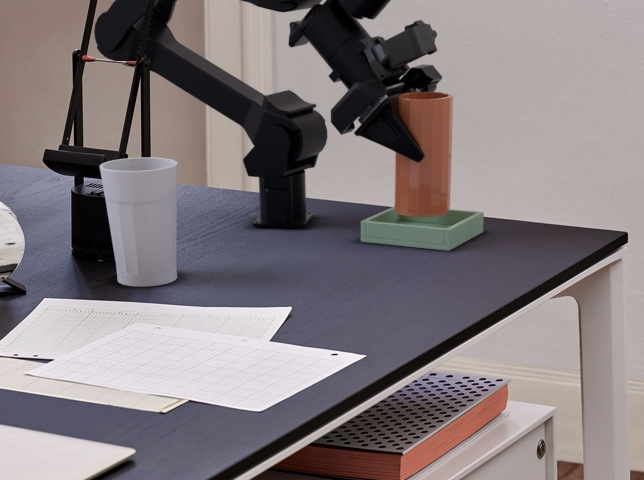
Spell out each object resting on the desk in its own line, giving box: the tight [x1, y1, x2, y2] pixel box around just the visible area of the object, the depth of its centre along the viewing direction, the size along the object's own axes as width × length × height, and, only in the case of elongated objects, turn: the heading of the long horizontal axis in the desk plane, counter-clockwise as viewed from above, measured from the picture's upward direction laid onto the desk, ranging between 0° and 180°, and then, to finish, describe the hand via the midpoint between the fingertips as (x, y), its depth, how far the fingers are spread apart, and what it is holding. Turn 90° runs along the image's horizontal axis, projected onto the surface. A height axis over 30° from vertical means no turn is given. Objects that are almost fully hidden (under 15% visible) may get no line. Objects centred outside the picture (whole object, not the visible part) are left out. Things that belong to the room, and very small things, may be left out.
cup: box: [99, 156, 178, 288], centre depth 142 cm, size 8×8×12 cm
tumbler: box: [394, 91, 454, 217], centre depth 155 cm, size 6×6×13 cm
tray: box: [360, 205, 485, 252], centre depth 159 cm, size 11×10×2 cm
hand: (434, 154), depth 155 cm, fingers closed on tumbler, 6 cm apart
